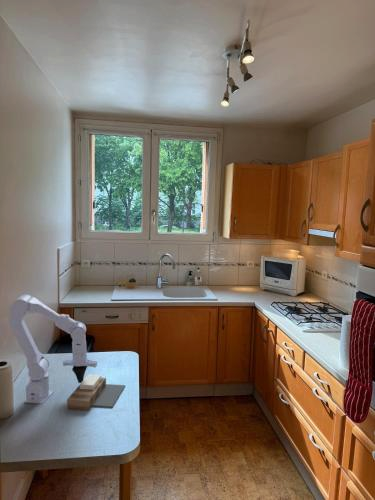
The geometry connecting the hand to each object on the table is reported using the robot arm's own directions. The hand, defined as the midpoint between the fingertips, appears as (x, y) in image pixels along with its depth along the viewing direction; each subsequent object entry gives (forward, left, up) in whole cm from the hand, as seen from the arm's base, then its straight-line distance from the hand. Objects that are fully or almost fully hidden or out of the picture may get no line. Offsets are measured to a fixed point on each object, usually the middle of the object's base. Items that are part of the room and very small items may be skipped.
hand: (80, 381), depth 148 cm
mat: (-2, -13, -5) cm, 14 cm away
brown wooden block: (-4, -5, -5) cm, 7 cm away
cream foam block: (0, -5, 0) cm, 5 cm away
